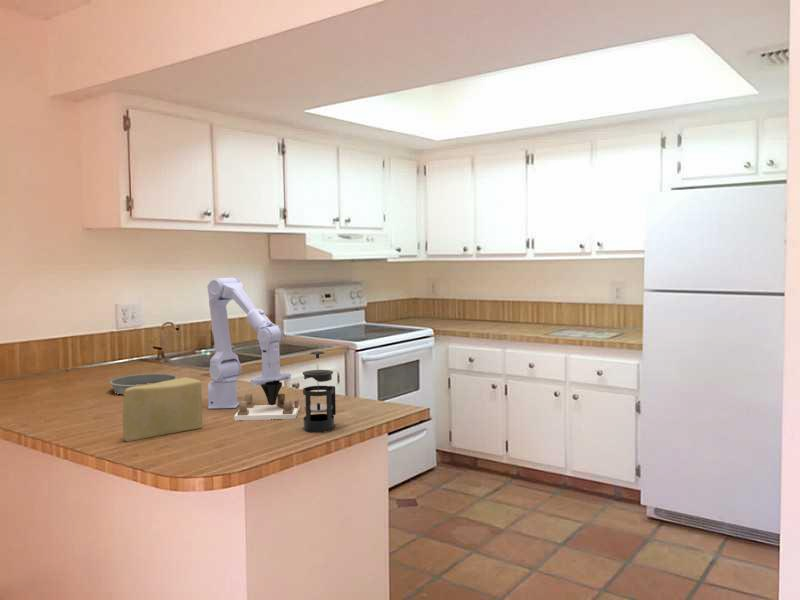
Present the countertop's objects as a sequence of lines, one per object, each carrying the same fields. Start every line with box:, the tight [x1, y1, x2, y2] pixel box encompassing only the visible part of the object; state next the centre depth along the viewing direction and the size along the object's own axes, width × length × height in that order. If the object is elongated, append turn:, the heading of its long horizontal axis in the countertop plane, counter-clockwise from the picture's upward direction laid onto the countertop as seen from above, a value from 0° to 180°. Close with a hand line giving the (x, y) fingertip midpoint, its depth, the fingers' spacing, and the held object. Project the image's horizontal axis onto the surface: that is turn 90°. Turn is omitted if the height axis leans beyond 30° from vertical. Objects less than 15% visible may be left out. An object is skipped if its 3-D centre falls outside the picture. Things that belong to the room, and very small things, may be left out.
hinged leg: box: [276, 393, 294, 410], centre depth 215 cm, size 8×2×4 cm, turn 35°
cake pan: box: [109, 373, 179, 394], centre depth 256 cm, size 25×25×4 cm
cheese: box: [122, 376, 203, 442], centre depth 192 cm, size 22×10×15 cm, turn 139°
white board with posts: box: [233, 393, 301, 422], centre depth 213 cm, size 19×14×6 cm
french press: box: [302, 350, 337, 433], centre depth 195 cm, size 12×9×23 cm
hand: (271, 404), depth 214 cm, fingers closed
